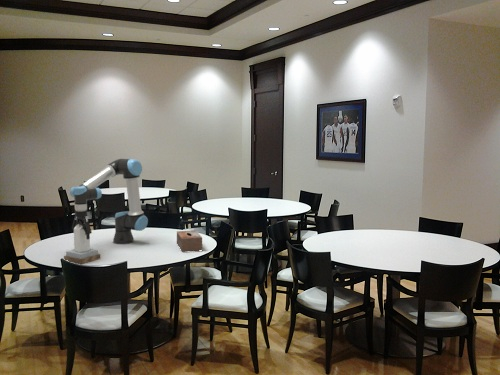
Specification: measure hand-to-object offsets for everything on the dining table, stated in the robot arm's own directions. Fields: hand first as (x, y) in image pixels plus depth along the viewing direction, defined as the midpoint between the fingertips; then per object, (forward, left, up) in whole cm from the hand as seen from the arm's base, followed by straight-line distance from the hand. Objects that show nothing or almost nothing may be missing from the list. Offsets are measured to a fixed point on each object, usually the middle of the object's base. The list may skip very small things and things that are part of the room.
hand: (81, 242), depth 301 cm
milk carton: (0, 0, -6) cm, 6 cm away
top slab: (0, 0, -9) cm, 9 cm away
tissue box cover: (-70, +27, -12) cm, 76 cm away
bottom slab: (0, 0, -12) cm, 12 cm away
